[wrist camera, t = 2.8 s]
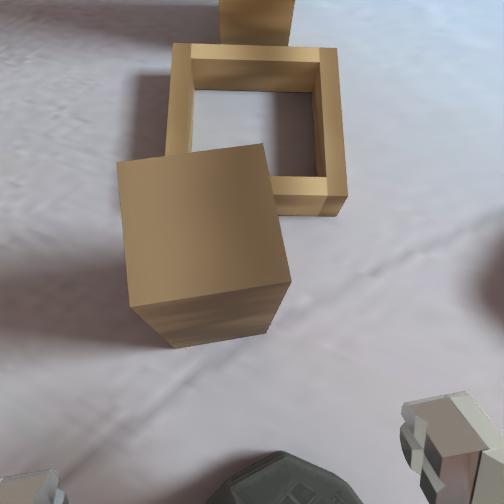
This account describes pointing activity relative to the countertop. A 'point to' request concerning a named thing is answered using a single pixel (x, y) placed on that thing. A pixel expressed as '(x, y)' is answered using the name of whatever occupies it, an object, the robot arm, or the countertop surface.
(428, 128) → the countertop surface
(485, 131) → the countertop surface
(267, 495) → the zipper pull
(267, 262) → the wooden block
